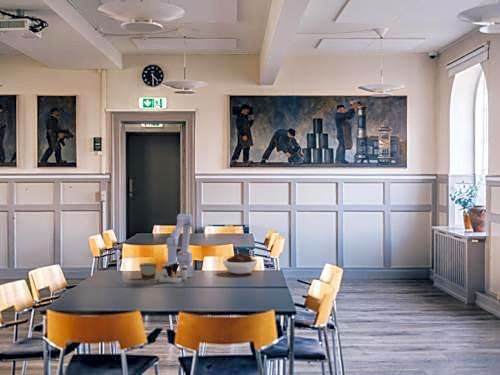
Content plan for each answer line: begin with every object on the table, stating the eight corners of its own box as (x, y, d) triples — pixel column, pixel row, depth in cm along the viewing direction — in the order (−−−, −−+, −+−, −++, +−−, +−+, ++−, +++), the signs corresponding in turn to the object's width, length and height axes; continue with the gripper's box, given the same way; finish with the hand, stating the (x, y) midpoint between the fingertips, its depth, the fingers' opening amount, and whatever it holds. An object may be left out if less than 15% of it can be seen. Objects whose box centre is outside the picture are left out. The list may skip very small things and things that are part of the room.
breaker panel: (163, 280, 401) (163, 274, 401) (182, 281, 396) (182, 275, 396) (159, 281, 394) (159, 276, 394) (178, 282, 390) (178, 277, 390)
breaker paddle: (170, 275, 398) (170, 271, 398) (174, 276, 397) (174, 271, 397) (169, 276, 397) (169, 272, 397) (173, 276, 396) (173, 272, 396)
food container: (159, 277, 412) (159, 263, 412) (156, 278, 406) (156, 264, 406) (141, 277, 413) (141, 262, 413) (139, 278, 407) (139, 264, 407)
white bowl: (216, 274, 427) (216, 253, 427) (235, 269, 448) (235, 250, 448) (245, 277, 414) (245, 255, 414) (263, 272, 435) (263, 252, 435)
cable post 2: (185, 280, 400) (185, 265, 400) (188, 280, 398) (188, 266, 398) (181, 280, 398) (181, 266, 398) (184, 281, 396) (184, 266, 396)
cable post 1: (165, 279, 405) (165, 264, 405) (167, 279, 403) (167, 265, 403) (161, 279, 403) (161, 264, 403) (163, 280, 401) (163, 265, 400)
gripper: (171, 253, 405) (171, 273, 405) (161, 256, 391) (161, 276, 391) (180, 254, 403) (180, 274, 403) (171, 256, 389) (171, 277, 389)
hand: (172, 275), depth 397 cm, fingers open, 7 cm apart
